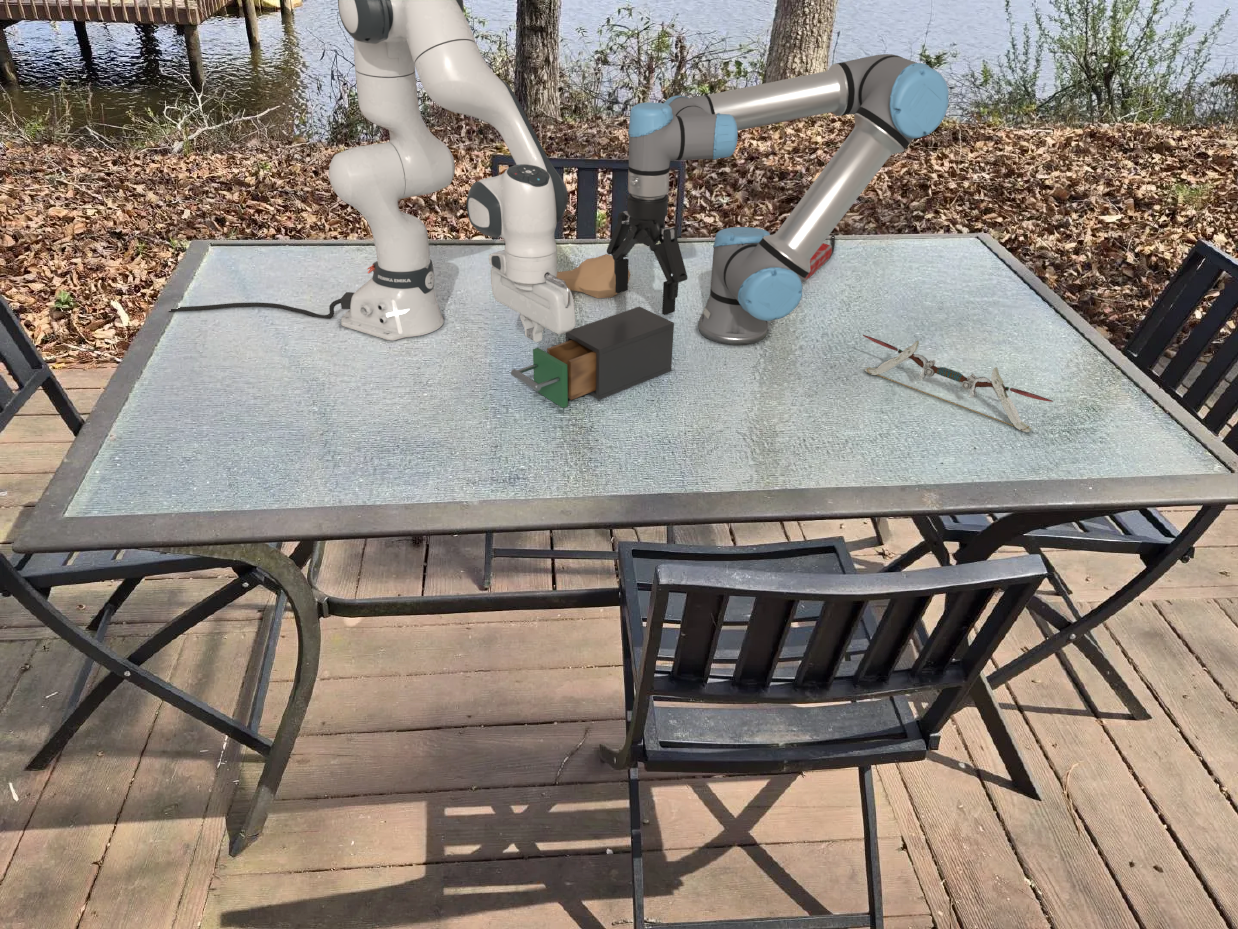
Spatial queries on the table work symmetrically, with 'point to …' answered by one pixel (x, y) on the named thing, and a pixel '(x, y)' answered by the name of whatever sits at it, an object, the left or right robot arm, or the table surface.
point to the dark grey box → (627, 349)
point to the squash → (593, 277)
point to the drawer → (561, 372)
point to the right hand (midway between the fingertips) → (644, 301)
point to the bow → (967, 383)
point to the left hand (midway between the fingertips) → (533, 338)
